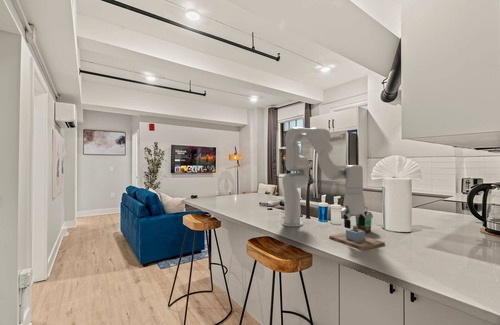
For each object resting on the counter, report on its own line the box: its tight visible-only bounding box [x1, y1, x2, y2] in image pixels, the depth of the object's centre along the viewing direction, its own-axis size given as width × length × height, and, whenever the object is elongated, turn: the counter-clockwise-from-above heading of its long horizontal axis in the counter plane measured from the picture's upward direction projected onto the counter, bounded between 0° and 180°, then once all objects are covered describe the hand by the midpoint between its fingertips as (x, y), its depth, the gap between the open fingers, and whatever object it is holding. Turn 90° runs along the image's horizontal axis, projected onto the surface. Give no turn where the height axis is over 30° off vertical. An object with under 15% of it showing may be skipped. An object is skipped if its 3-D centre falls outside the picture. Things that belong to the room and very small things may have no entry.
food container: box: [354, 211, 374, 234], centre depth 133 cm, size 12×6×10 cm, turn 131°
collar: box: [345, 228, 366, 242], centre depth 117 cm, size 6×6×4 cm
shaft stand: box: [328, 225, 386, 251], centre depth 117 cm, size 20×14×7 cm
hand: (354, 226), depth 117 cm, fingers open, 9 cm apart
